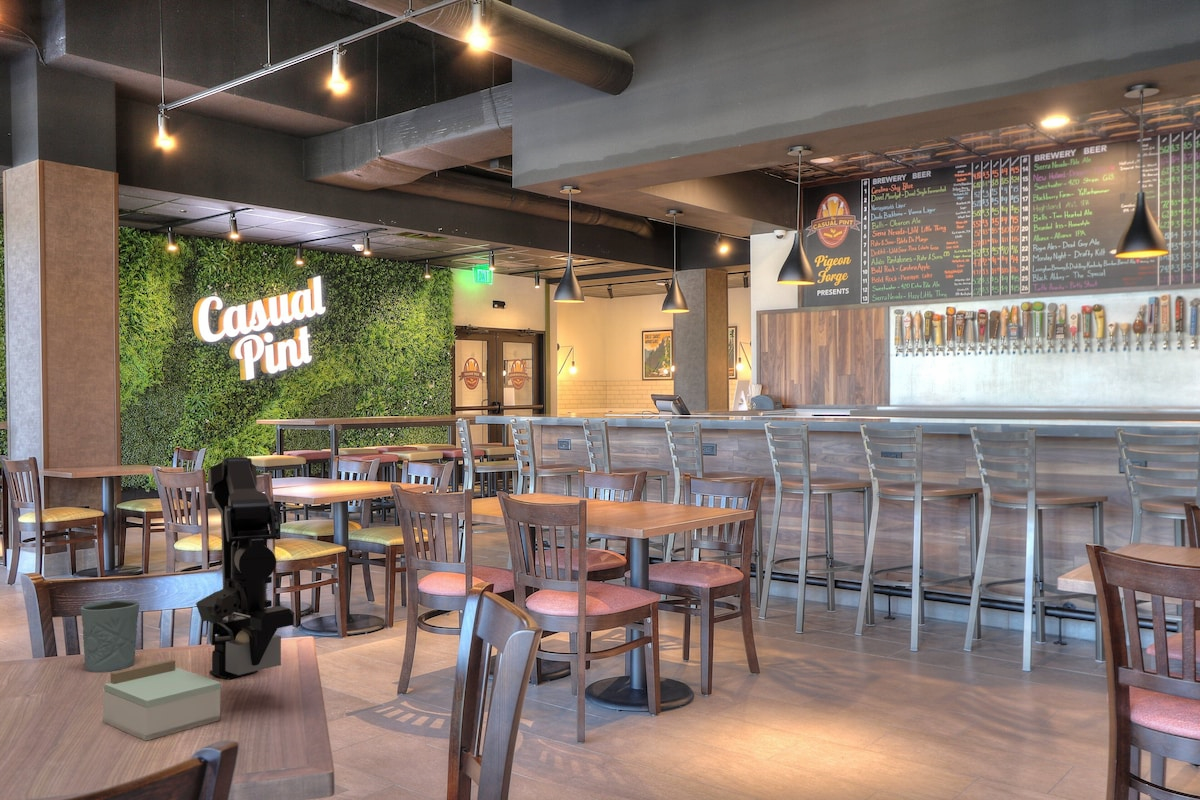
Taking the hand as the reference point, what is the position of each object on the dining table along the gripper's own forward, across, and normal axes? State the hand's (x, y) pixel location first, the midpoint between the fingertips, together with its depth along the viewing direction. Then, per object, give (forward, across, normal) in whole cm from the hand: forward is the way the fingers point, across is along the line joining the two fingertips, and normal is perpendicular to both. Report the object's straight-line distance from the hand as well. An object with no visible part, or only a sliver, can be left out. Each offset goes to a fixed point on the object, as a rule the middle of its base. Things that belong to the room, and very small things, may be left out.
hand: (248, 662), depth 159 cm
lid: (+2, -2, -14) cm, 14 cm away
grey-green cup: (+7, -42, -4) cm, 43 cm away
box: (+7, -2, -14) cm, 16 cm away
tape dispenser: (+1, 0, +1) cm, 1 cm away
